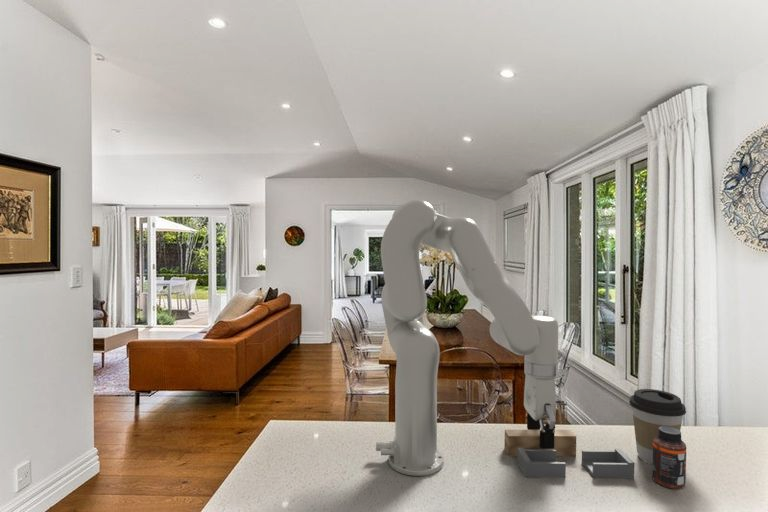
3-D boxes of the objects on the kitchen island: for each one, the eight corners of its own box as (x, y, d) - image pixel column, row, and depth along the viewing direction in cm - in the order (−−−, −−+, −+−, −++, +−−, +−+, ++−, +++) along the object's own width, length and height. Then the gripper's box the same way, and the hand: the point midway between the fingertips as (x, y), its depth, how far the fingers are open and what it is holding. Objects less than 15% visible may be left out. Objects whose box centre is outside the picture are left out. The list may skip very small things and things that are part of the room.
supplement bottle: (690, 492, 90) (692, 437, 90) (658, 488, 91) (660, 434, 91) (677, 476, 96) (679, 425, 96) (647, 473, 97) (648, 422, 97)
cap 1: (525, 476, 96) (525, 461, 96) (517, 462, 102) (517, 447, 102) (565, 477, 96) (565, 461, 96) (555, 462, 102) (555, 448, 102)
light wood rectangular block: (508, 456, 105) (508, 436, 105) (504, 449, 109) (504, 429, 108) (576, 456, 105) (576, 436, 105) (569, 449, 109) (570, 429, 108)
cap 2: (619, 463, 101) (620, 448, 101) (634, 478, 95) (634, 462, 95) (581, 462, 102) (581, 448, 102) (593, 477, 96) (593, 462, 95)
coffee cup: (696, 471, 98) (699, 404, 97) (645, 471, 98) (647, 405, 97) (664, 447, 109) (665, 387, 109) (618, 447, 109) (619, 387, 109)
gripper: (515, 358, 115) (514, 423, 115) (536, 380, 97) (535, 456, 98) (544, 358, 114) (543, 423, 115) (570, 380, 97) (569, 456, 98)
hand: (539, 438), depth 107 cm, fingers open, 9 cm apart
